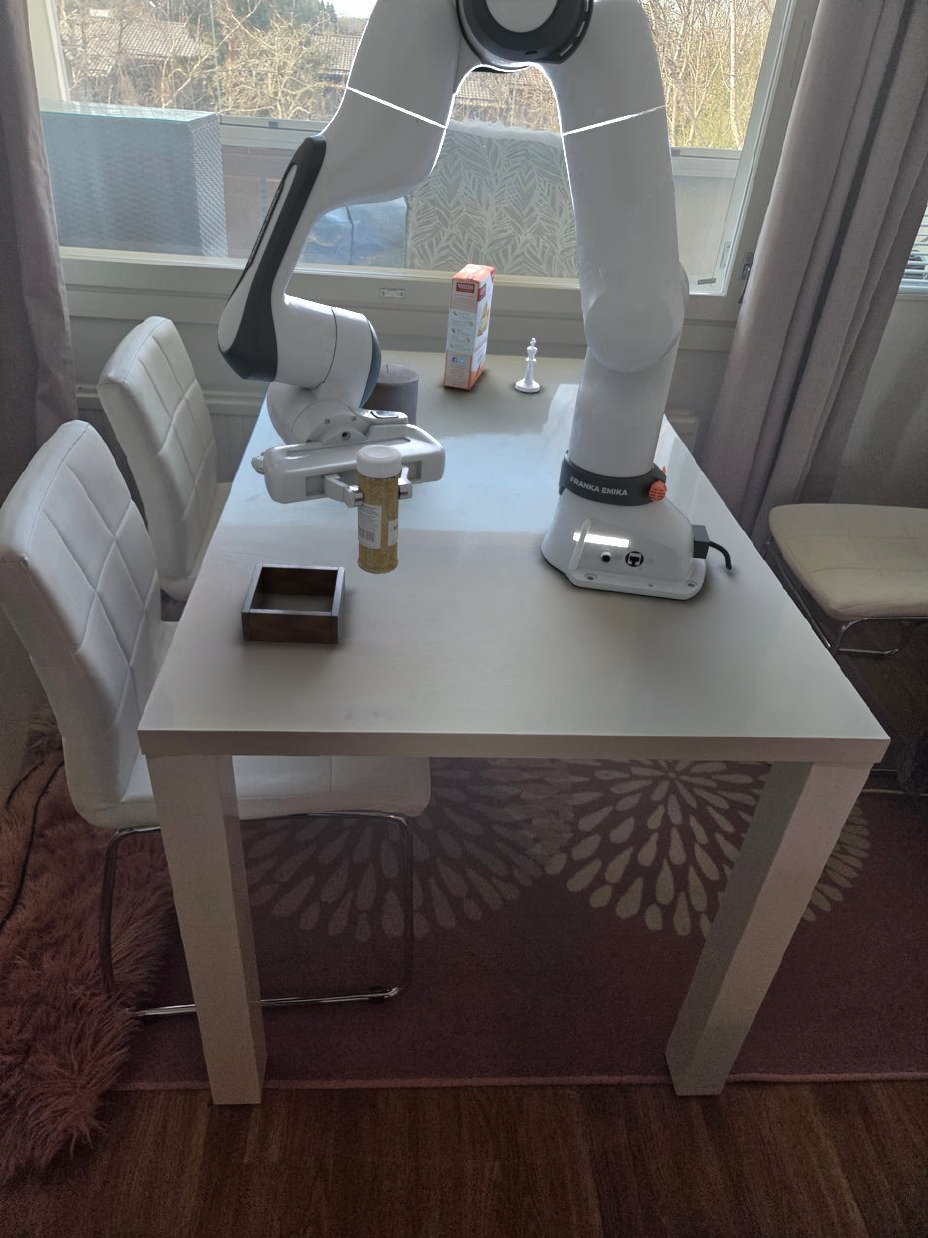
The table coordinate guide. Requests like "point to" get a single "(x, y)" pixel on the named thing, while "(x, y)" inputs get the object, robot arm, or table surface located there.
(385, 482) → the sprinkles bottle
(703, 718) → the table surface
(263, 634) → the caddy
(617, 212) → the robot arm
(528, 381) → the chess piece
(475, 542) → the table surface
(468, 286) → the cracker box
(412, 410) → the pillar candle
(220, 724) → the table surface
